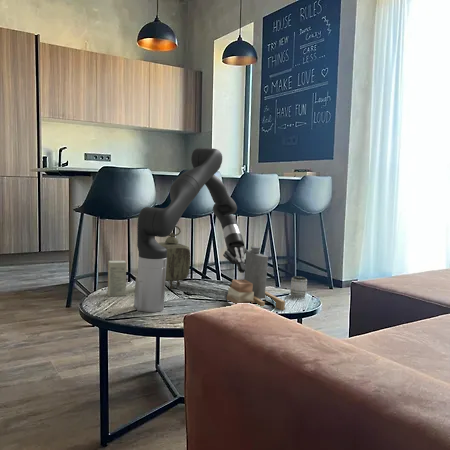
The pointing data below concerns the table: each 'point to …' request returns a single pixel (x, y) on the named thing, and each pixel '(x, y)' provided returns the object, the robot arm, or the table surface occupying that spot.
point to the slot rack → (279, 302)
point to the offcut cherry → (242, 285)
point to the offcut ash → (240, 295)
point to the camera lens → (298, 286)
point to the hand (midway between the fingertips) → (242, 271)
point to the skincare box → (116, 278)
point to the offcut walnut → (238, 301)
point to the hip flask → (256, 271)
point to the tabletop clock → (176, 259)
